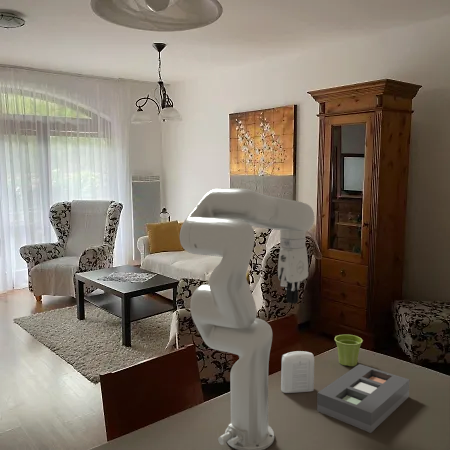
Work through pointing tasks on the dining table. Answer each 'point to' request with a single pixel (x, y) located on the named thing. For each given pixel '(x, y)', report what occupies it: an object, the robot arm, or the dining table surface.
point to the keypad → (363, 397)
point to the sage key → (351, 400)
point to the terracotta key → (377, 379)
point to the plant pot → (348, 349)
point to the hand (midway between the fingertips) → (292, 302)
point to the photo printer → (297, 372)
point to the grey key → (365, 387)
